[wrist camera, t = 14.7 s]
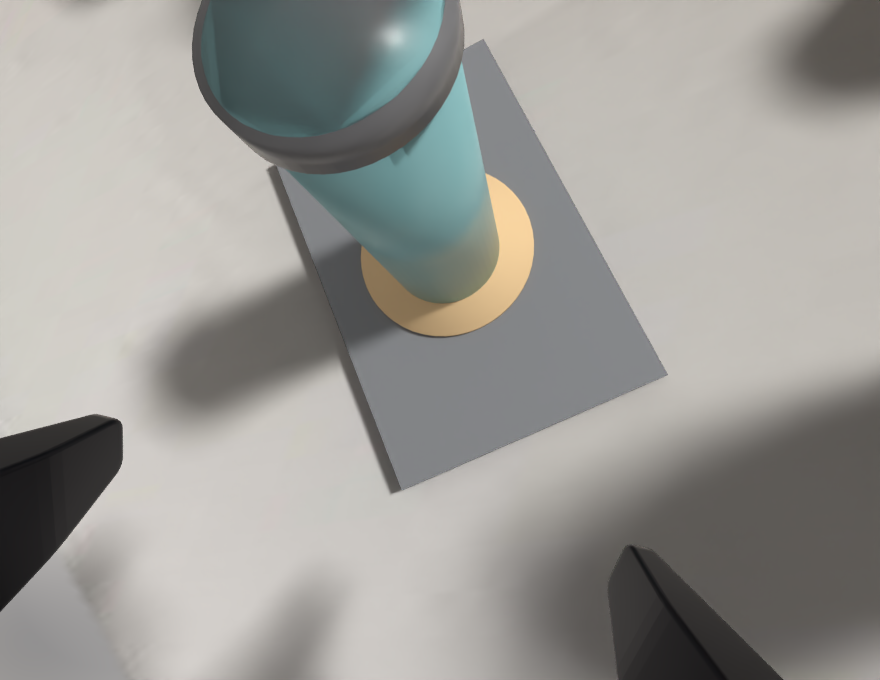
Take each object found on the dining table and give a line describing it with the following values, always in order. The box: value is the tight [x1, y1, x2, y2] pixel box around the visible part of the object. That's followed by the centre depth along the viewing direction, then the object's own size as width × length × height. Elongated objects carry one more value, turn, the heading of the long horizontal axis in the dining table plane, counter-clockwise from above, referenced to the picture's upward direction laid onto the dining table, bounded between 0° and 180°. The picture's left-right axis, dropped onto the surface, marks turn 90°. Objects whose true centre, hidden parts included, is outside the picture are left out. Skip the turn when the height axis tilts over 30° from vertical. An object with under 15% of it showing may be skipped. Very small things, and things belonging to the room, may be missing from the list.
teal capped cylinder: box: [192, 0, 499, 303], centre depth 15 cm, size 5×5×13 cm
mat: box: [277, 39, 668, 490], centre depth 22 cm, size 18×12×1 cm, turn 24°
